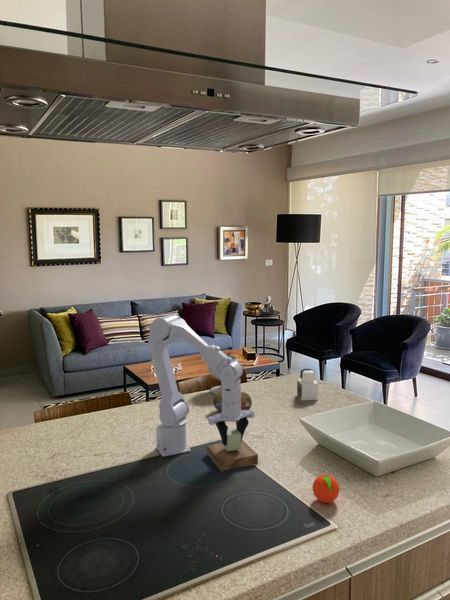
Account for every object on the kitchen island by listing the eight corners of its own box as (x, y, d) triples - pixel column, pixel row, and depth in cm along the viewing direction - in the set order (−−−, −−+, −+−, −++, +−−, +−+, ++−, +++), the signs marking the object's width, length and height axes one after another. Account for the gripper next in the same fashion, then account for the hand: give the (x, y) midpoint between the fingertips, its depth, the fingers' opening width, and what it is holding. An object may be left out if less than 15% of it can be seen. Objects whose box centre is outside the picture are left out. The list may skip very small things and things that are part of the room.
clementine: (343, 509, 127) (344, 483, 126) (317, 511, 126) (317, 485, 125) (334, 493, 135) (335, 468, 134) (309, 494, 134) (309, 469, 133)
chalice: (242, 395, 212) (242, 361, 210) (210, 397, 210) (209, 363, 208) (235, 385, 226) (235, 353, 224) (205, 387, 223) (204, 354, 221)
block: (227, 451, 151) (227, 435, 151) (222, 445, 155) (222, 430, 155) (241, 448, 153) (241, 433, 152) (235, 443, 157) (235, 428, 156)
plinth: (221, 471, 147) (221, 462, 146) (207, 454, 158) (206, 445, 157) (257, 463, 151) (257, 454, 151) (241, 447, 162) (241, 439, 162)
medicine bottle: (296, 395, 212) (297, 367, 210) (313, 394, 213) (313, 367, 211) (301, 400, 205) (301, 372, 203) (318, 400, 206) (318, 372, 204)
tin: (213, 411, 194) (212, 391, 193) (215, 409, 197) (215, 388, 196) (250, 415, 190) (250, 394, 189) (252, 412, 193) (252, 391, 192)
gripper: (214, 408, 145) (214, 452, 147) (258, 401, 151) (258, 443, 153) (205, 400, 152) (206, 442, 154) (248, 394, 157) (248, 434, 159)
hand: (231, 442), depth 154 cm, fingers closed on block, 4 cm apart
